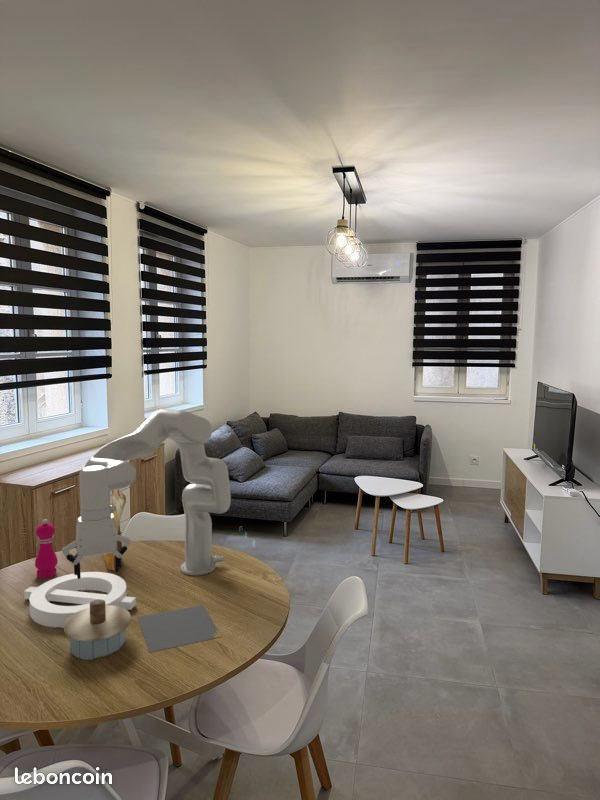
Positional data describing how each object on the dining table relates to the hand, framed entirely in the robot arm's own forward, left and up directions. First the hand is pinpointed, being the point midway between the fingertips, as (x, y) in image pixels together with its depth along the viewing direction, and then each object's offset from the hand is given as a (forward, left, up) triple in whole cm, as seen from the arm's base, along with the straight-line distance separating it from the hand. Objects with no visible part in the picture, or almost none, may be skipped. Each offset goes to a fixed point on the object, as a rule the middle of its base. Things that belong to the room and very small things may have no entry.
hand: (97, 573), depth 149 cm
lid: (0, 0, -14) cm, 14 cm away
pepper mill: (+12, -53, -20) cm, 58 cm away
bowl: (0, 0, -20) cm, 20 cm away
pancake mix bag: (-11, -55, -20) cm, 59 cm away
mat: (-22, 0, -20) cm, 30 cm away
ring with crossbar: (+3, -26, -21) cm, 33 cm away
